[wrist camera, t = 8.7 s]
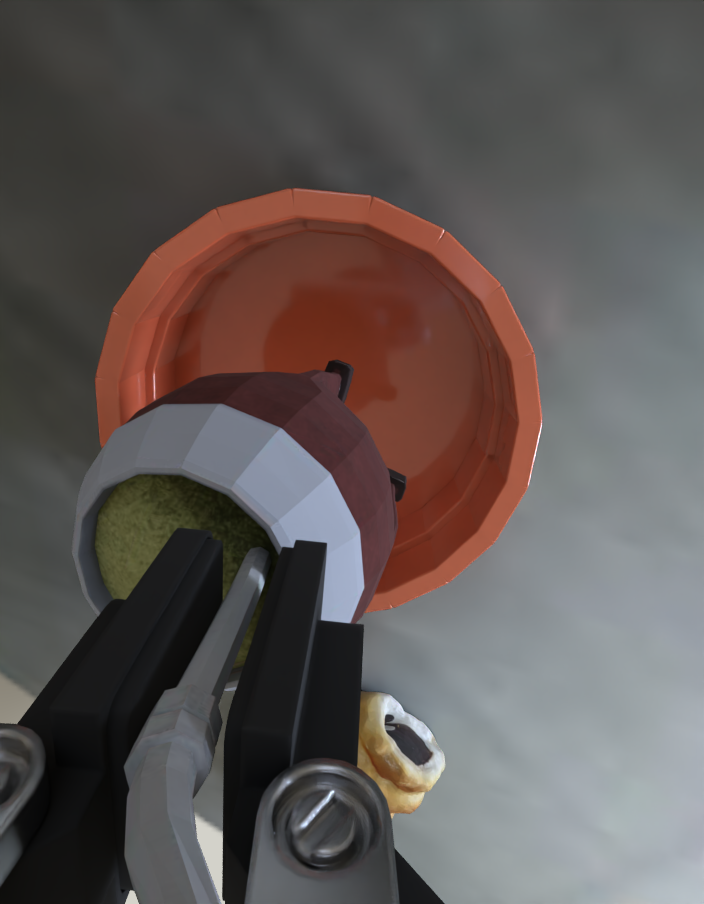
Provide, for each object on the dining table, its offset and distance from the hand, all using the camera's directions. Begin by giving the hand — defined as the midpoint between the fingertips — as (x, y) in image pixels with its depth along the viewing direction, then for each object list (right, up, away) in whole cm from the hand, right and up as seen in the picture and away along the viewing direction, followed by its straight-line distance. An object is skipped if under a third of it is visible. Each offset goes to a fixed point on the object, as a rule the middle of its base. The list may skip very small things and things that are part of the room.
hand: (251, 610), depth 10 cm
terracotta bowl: (+1, +5, +13) cm, 14 cm away
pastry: (+2, -13, +20) cm, 24 cm away
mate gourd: (+1, +3, +9) cm, 9 cm away
